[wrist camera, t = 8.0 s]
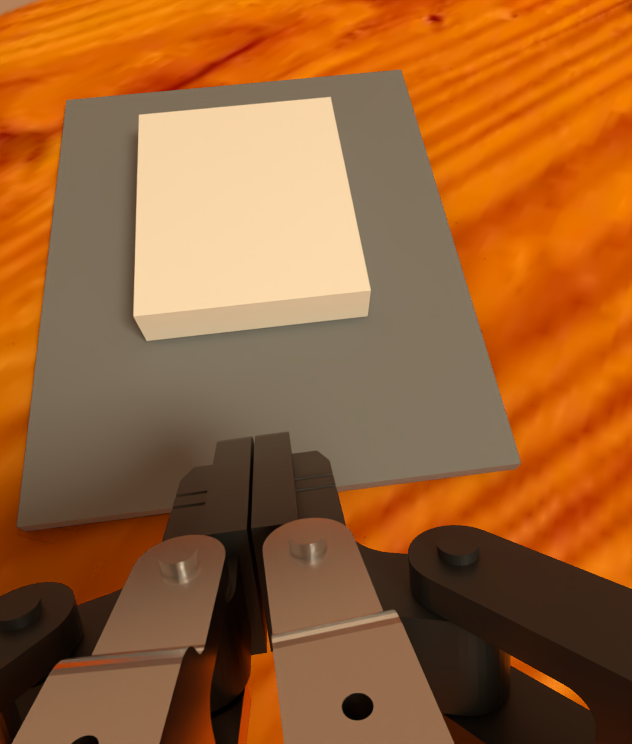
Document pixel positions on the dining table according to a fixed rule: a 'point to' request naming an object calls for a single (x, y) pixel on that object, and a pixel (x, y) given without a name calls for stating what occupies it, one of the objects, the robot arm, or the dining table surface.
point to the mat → (254, 330)
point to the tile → (244, 221)
